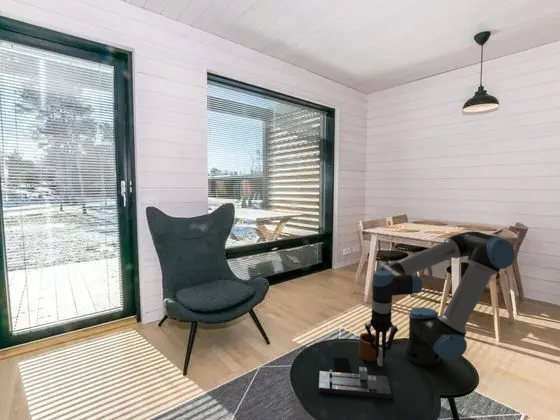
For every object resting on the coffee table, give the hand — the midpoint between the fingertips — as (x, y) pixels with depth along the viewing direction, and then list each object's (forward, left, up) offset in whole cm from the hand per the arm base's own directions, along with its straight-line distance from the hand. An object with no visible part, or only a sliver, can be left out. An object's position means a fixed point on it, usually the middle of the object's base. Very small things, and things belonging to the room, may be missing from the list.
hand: (379, 363), depth 125 cm
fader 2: (+4, +5, -7) cm, 9 cm away
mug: (+2, -21, -10) cm, 23 cm away
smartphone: (+15, -8, -10) cm, 20 cm away
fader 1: (+7, 0, -7) cm, 10 cm away
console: (+11, +2, -9) cm, 14 cm away
